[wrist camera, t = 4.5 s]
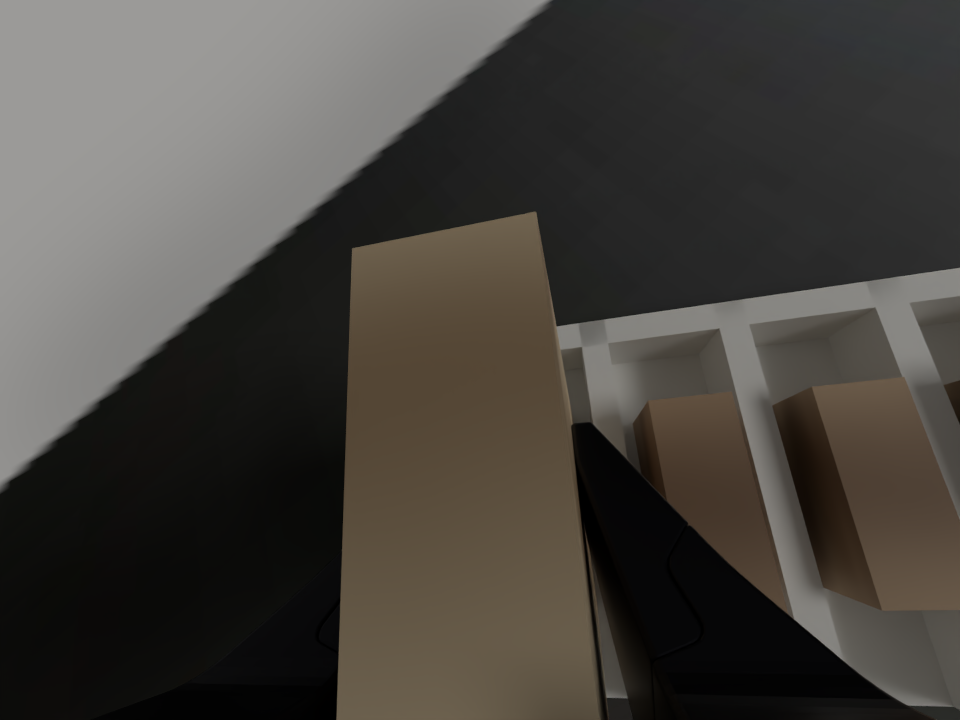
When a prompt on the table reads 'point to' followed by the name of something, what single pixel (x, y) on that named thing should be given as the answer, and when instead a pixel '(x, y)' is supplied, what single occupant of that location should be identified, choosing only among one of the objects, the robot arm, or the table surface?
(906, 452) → the walnut offcut
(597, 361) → the offcut rack
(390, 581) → the oak board
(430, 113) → the table surface
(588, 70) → the table surface
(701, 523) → the walnut offcut
